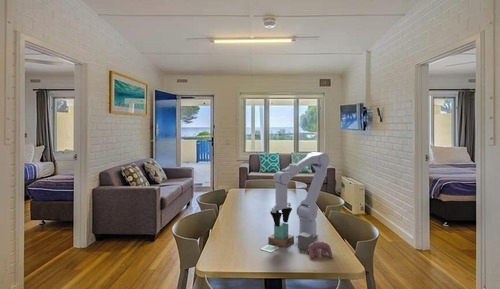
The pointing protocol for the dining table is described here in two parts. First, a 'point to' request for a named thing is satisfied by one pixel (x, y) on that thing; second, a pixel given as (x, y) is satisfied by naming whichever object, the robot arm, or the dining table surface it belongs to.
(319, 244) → the pink arch
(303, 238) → the charcoal block
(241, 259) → the dining table surface
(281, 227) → the teal block
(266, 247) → the card
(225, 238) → the dining table surface
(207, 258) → the dining table surface
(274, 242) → the walnut base
